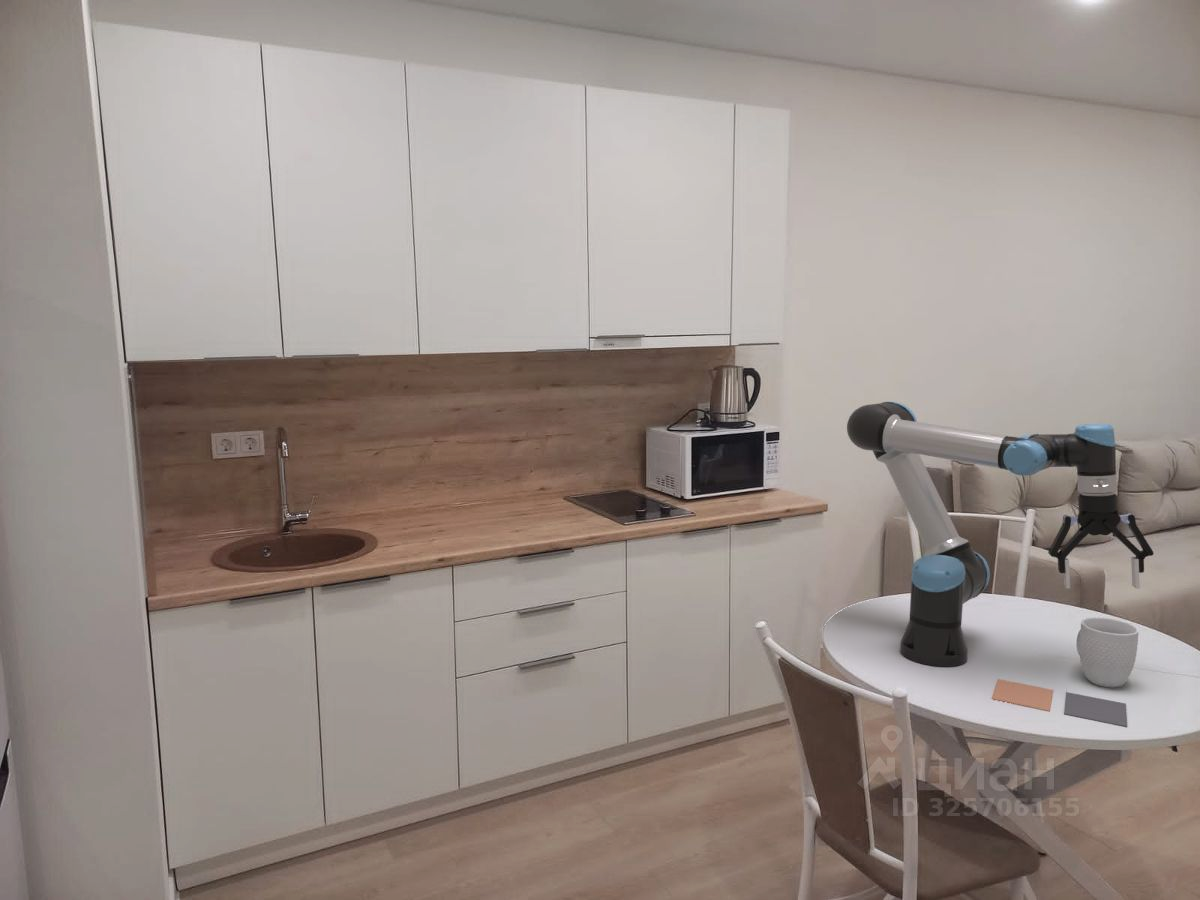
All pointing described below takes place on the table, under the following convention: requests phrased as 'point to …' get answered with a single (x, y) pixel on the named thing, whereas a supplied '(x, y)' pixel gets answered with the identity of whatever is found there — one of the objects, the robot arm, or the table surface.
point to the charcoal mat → (1095, 709)
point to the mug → (1107, 650)
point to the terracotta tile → (1023, 695)
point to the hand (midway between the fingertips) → (1101, 587)
